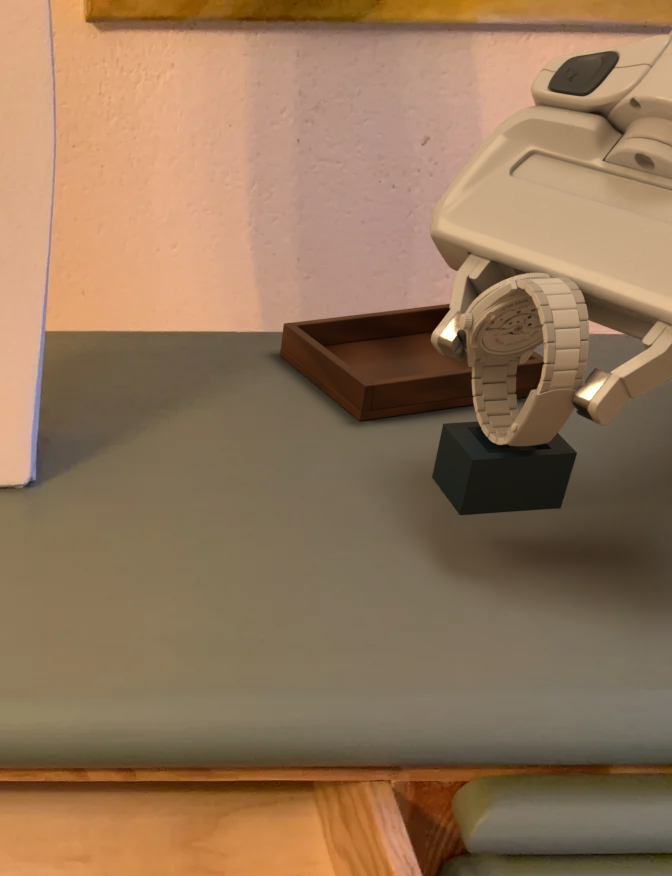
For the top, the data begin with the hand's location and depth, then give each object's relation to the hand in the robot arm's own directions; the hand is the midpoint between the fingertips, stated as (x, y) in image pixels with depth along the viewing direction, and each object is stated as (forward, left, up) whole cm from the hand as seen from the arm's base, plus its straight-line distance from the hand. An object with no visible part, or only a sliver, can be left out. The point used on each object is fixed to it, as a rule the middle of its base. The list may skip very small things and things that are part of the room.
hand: (511, 381), depth 58 cm
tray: (-10, -24, -10) cm, 28 cm away
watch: (-1, 0, -6) cm, 6 cm away
